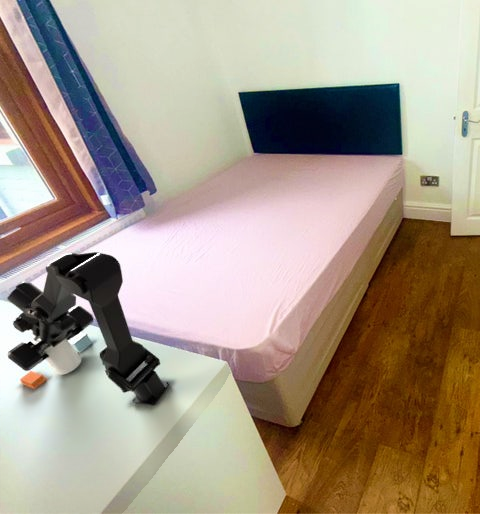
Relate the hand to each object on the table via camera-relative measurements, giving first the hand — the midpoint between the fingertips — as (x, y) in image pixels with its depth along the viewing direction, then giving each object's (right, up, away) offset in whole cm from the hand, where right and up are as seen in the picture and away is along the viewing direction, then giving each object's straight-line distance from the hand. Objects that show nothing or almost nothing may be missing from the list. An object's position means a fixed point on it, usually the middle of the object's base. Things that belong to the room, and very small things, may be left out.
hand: (53, 348), depth 98 cm
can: (+3, -6, +3) cm, 7 cm away
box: (0, -2, +11) cm, 11 cm away
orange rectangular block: (-6, -9, +1) cm, 11 cm away
